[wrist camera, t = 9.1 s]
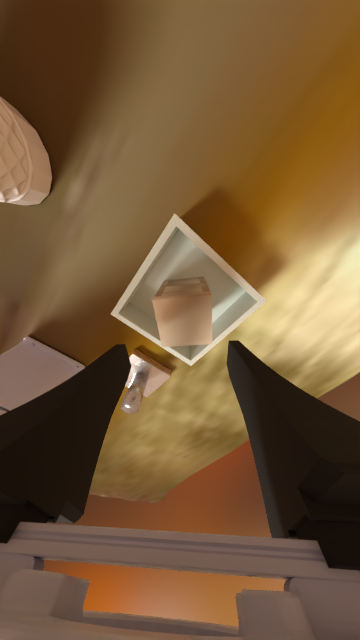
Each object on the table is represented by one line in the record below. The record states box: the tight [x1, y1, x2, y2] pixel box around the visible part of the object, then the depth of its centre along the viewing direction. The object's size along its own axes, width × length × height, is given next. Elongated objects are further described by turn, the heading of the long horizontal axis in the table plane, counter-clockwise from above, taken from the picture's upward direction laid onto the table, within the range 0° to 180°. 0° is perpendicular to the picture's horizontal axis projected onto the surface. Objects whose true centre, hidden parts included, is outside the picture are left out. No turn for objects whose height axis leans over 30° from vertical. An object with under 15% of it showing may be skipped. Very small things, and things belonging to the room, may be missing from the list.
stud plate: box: [121, 349, 171, 413], centre depth 23 cm, size 7×7×6 cm
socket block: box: [152, 277, 212, 347], centre depth 15 cm, size 5×5×6 cm
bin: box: [111, 214, 266, 366], centre depth 17 cm, size 11×11×4 cm
